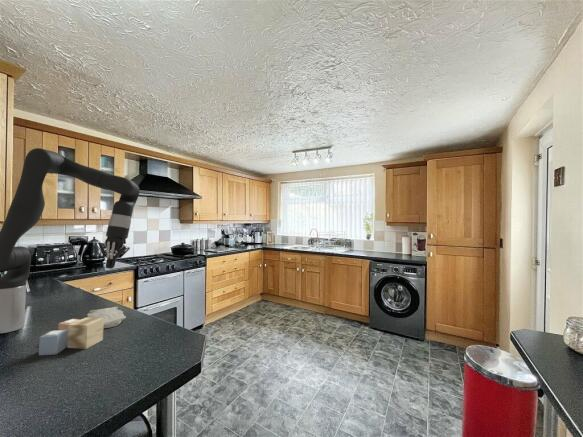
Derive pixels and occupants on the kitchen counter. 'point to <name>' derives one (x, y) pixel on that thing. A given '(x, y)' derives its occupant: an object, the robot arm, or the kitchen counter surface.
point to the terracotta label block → (66, 324)
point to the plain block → (85, 332)
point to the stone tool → (108, 316)
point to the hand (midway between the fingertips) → (109, 268)
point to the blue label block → (53, 342)
